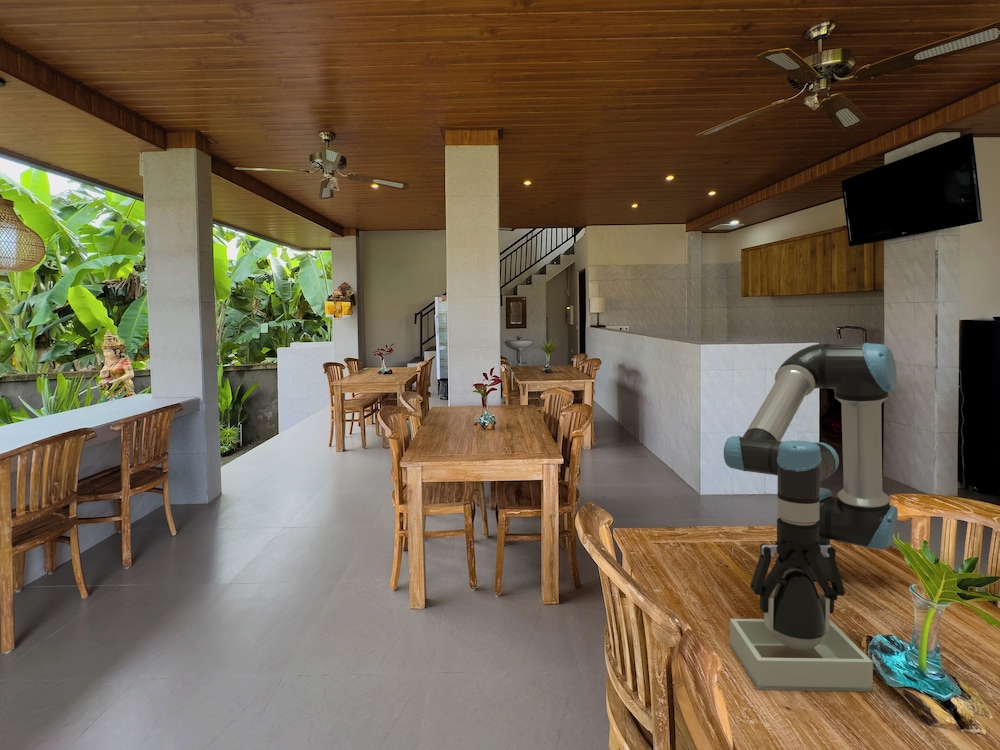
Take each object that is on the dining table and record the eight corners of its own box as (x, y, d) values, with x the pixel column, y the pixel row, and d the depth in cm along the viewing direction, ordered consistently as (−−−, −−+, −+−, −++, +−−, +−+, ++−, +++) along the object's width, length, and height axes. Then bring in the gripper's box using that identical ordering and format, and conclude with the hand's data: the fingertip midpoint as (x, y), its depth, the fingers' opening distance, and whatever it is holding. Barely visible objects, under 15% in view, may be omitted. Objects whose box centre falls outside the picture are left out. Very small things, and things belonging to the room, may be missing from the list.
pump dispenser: (757, 632, 121) (758, 561, 120) (804, 629, 122) (805, 558, 121) (785, 659, 111) (786, 582, 110) (836, 655, 112) (838, 579, 111)
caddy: (829, 645, 124) (830, 619, 124) (872, 691, 108) (873, 662, 108) (729, 644, 126) (729, 618, 125) (757, 689, 110) (757, 660, 109)
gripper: (846, 513, 118) (844, 619, 119) (733, 513, 119) (732, 617, 121) (867, 525, 110) (865, 638, 112) (746, 525, 112) (745, 636, 113)
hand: (796, 627), depth 116 cm, fingers closed on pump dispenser, 10 cm apart
